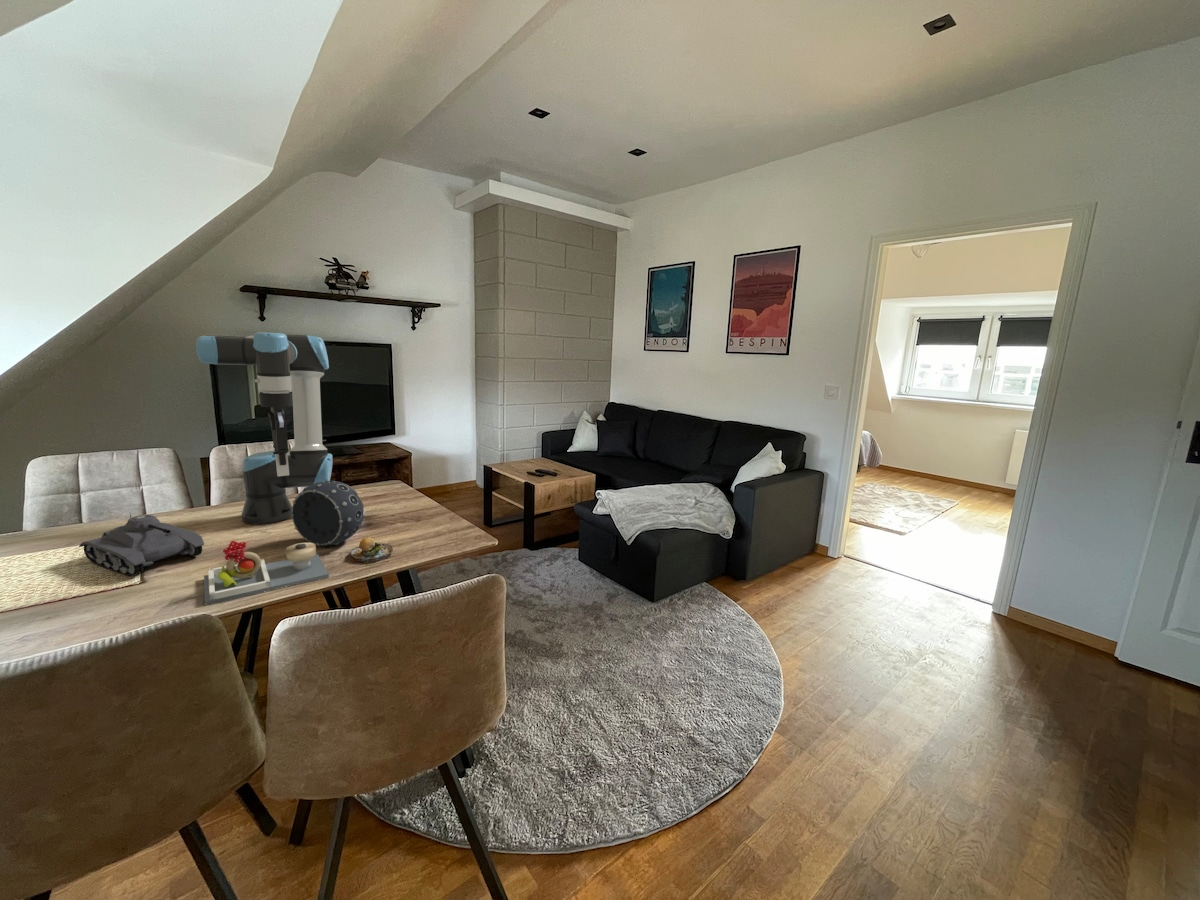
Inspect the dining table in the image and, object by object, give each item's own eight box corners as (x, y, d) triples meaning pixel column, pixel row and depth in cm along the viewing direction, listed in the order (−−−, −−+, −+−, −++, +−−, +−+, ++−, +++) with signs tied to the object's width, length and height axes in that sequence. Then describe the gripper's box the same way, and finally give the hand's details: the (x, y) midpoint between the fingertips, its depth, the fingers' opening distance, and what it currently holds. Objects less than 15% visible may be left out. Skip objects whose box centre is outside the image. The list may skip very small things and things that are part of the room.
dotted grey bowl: (346, 553, 145) (342, 490, 141) (289, 545, 148) (284, 483, 144) (369, 540, 155) (366, 481, 151) (316, 533, 159) (312, 474, 155)
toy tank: (131, 582, 122) (123, 527, 119) (80, 562, 132) (71, 510, 129) (209, 557, 138) (203, 508, 135) (159, 540, 148) (153, 494, 145)
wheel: (284, 554, 132) (283, 543, 132) (313, 548, 137) (313, 538, 136) (288, 563, 127) (287, 552, 126) (318, 557, 131) (317, 547, 131)
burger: (398, 557, 145) (397, 534, 143) (357, 568, 137) (355, 543, 135) (384, 545, 153) (383, 522, 152) (343, 554, 145) (342, 531, 143)
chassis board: (204, 579, 125) (202, 565, 125) (317, 556, 142) (316, 543, 141) (205, 605, 113) (203, 589, 113) (328, 577, 130) (327, 563, 129)
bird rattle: (247, 581, 128) (206, 578, 121) (263, 540, 129) (224, 536, 122) (255, 589, 124) (213, 587, 117) (271, 547, 125) (231, 543, 118)
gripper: (255, 388, 131) (264, 471, 137) (261, 394, 122) (270, 483, 127) (287, 388, 136) (294, 467, 142) (296, 394, 127) (303, 479, 132)
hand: (283, 475), depth 134 cm, fingers closed
